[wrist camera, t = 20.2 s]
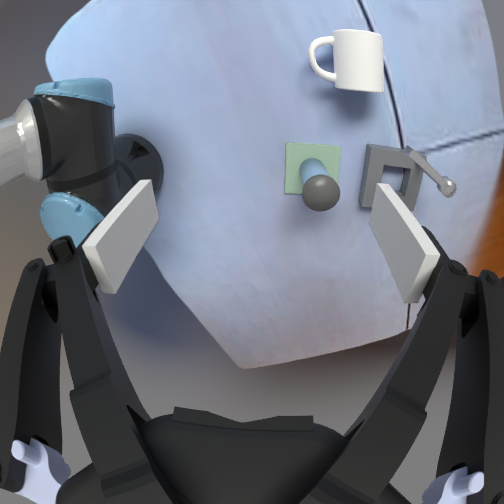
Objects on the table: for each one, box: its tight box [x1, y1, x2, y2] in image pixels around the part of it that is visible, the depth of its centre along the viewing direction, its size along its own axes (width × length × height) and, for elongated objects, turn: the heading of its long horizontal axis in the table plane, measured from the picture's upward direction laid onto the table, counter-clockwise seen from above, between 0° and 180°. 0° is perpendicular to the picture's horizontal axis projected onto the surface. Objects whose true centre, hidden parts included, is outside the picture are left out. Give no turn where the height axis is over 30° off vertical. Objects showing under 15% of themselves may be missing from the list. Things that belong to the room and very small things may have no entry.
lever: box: [403, 145, 456, 198], centre depth 33 cm, size 11×3×2 cm, turn 63°
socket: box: [358, 144, 437, 211], centre depth 43 cm, size 12×12×12 cm
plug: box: [299, 158, 340, 211], centre depth 44 cm, size 6×6×10 cm
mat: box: [285, 143, 341, 194], centre depth 49 cm, size 10×10×1 cm
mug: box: [308, 29, 384, 93], centre depth 33 cm, size 12×10×8 cm
